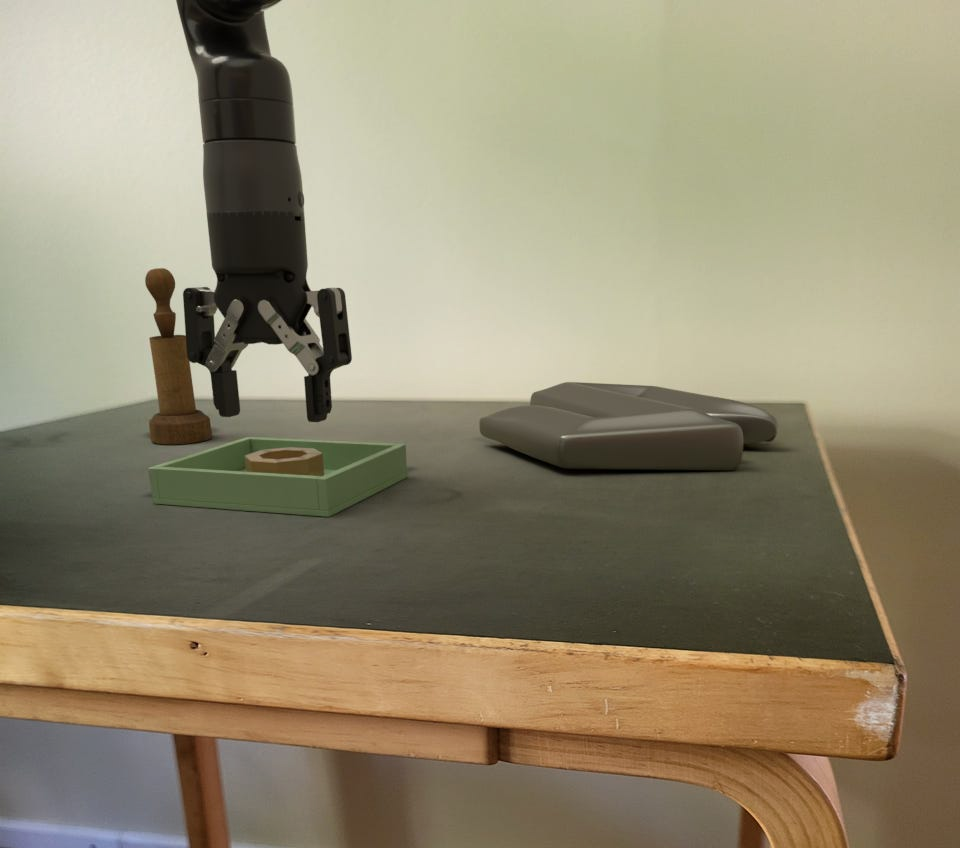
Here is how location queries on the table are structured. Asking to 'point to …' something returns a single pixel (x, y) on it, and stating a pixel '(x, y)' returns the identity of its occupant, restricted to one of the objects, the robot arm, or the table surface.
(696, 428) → the emblem
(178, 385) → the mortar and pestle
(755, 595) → the table surface
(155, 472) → the tray
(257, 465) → the ring
